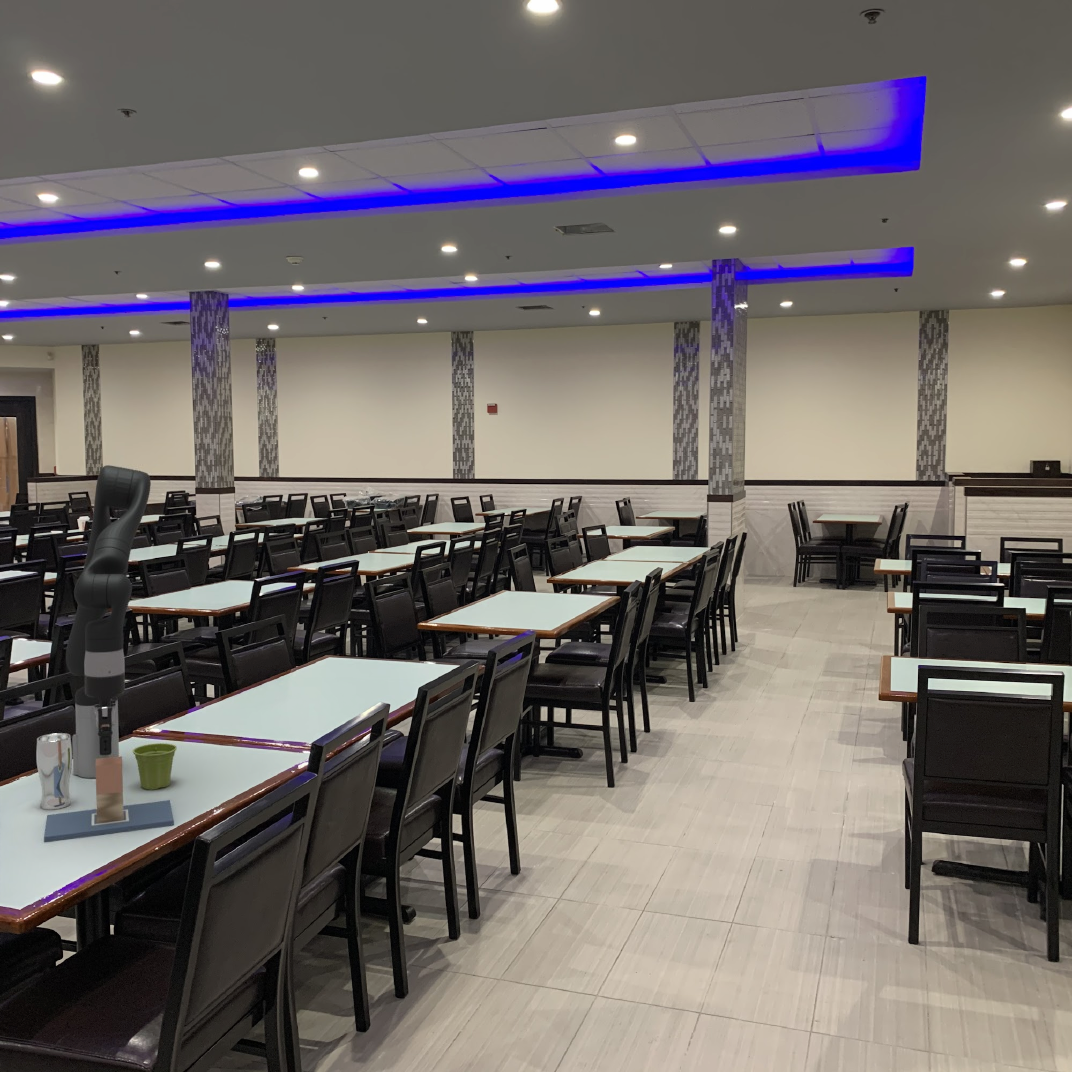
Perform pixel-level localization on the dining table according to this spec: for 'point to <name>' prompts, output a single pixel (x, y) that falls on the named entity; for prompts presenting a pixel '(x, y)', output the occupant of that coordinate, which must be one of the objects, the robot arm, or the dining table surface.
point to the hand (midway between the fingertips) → (105, 748)
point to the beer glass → (54, 769)
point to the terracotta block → (109, 775)
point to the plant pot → (155, 764)
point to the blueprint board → (87, 822)
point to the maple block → (109, 807)
